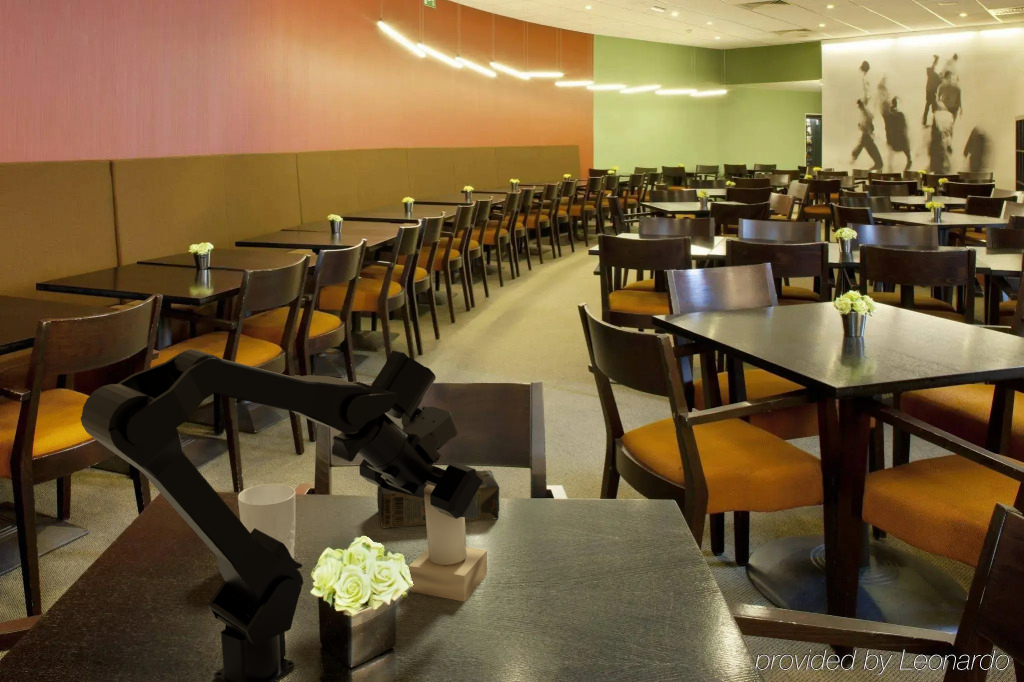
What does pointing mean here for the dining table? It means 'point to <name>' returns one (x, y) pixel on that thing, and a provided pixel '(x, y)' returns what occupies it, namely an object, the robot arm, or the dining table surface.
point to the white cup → (270, 512)
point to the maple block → (449, 575)
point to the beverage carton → (412, 509)
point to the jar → (444, 534)
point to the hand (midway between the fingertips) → (452, 505)
